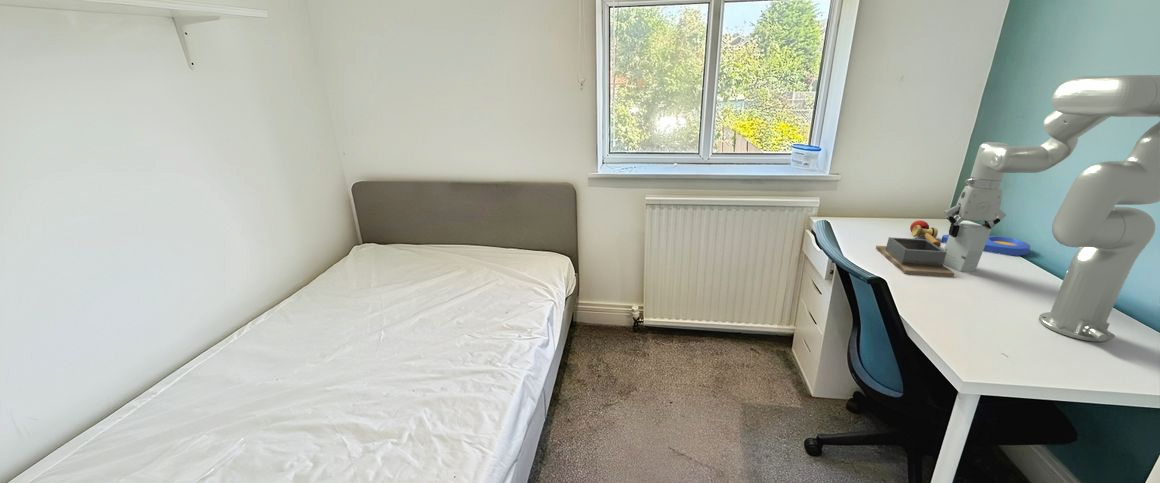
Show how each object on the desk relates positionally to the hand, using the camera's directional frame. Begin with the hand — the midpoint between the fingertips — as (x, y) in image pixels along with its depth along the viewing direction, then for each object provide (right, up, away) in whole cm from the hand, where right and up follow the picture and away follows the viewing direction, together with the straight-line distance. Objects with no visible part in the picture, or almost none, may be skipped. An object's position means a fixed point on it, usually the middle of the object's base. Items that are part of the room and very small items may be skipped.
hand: (967, 236), depth 149 cm
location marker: (+23, -4, +21) cm, 32 cm away
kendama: (+6, -1, +27) cm, 28 cm away
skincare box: (0, -10, +4) cm, 11 cm away
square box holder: (-12, -8, +8) cm, 17 cm away
